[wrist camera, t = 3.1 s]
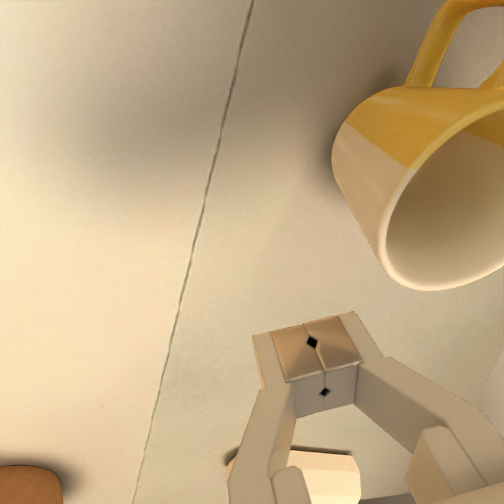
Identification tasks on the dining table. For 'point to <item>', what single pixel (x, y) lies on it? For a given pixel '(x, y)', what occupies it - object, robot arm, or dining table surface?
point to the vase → (29, 486)
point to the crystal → (325, 476)
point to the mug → (429, 169)
